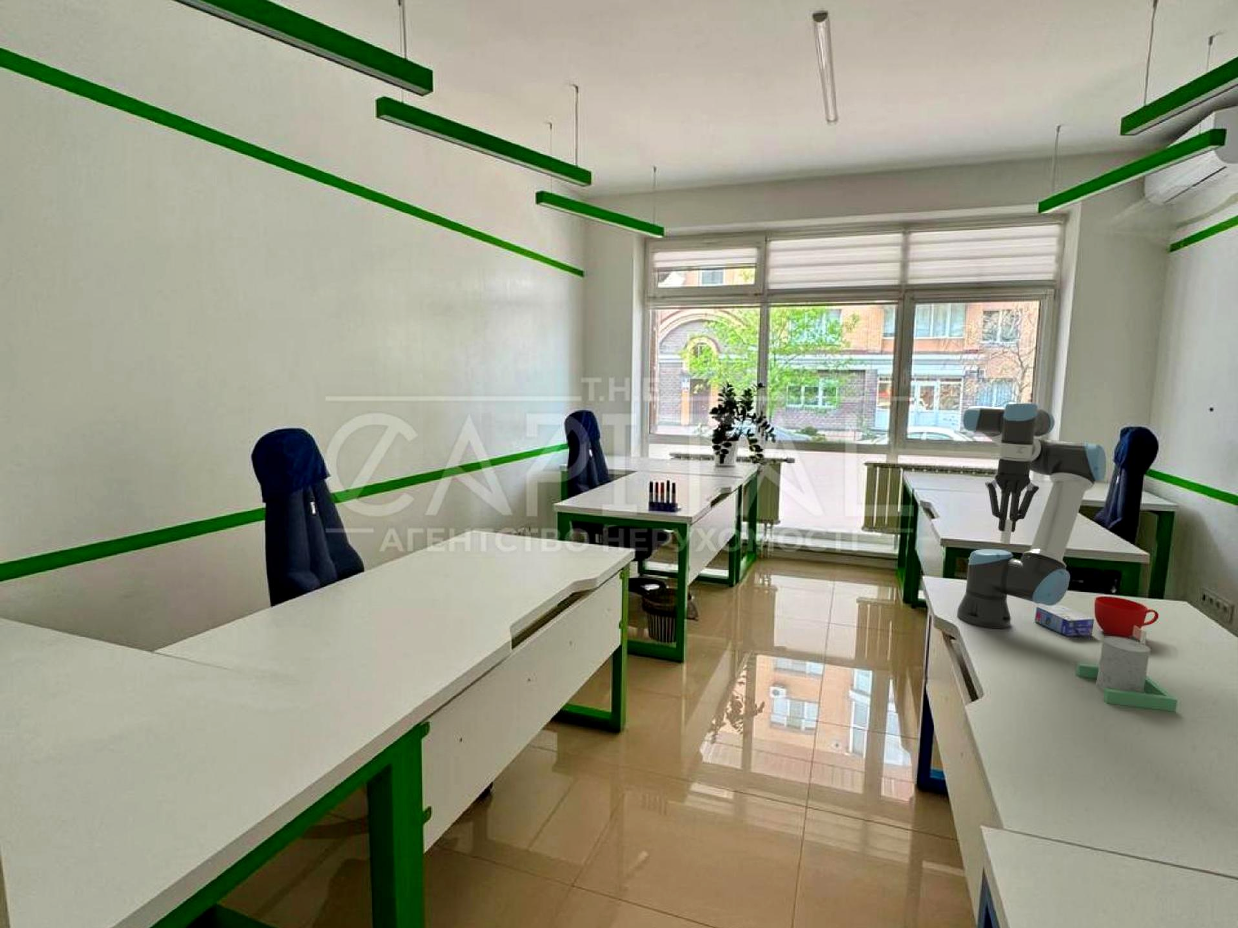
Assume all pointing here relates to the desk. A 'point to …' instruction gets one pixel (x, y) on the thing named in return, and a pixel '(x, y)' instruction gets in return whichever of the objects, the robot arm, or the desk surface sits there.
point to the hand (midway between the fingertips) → (1004, 542)
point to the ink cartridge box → (1064, 620)
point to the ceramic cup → (1120, 615)
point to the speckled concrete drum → (1122, 664)
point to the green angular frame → (1152, 699)
